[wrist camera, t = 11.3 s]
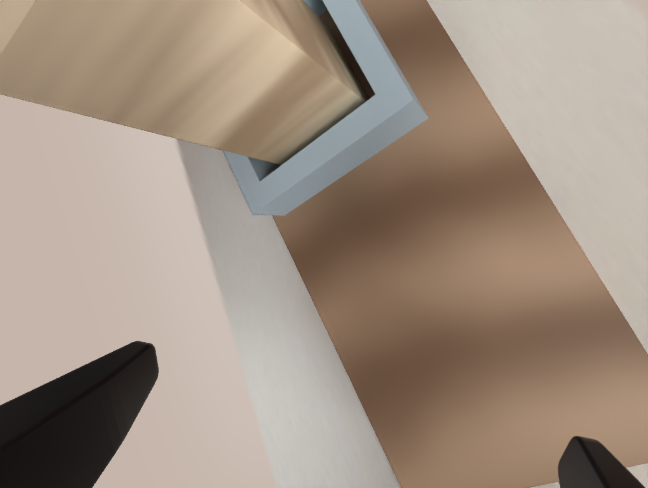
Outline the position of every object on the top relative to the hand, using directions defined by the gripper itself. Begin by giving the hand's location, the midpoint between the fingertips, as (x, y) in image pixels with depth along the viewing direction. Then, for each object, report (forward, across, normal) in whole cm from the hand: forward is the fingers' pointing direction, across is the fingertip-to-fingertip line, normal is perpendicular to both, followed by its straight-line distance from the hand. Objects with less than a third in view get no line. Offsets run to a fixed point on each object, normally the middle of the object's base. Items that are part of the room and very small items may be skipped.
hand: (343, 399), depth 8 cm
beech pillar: (+12, +4, -5) cm, 14 cm away
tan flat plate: (+10, -1, 0) cm, 10 cm away
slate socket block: (+12, +4, -5) cm, 14 cm away
